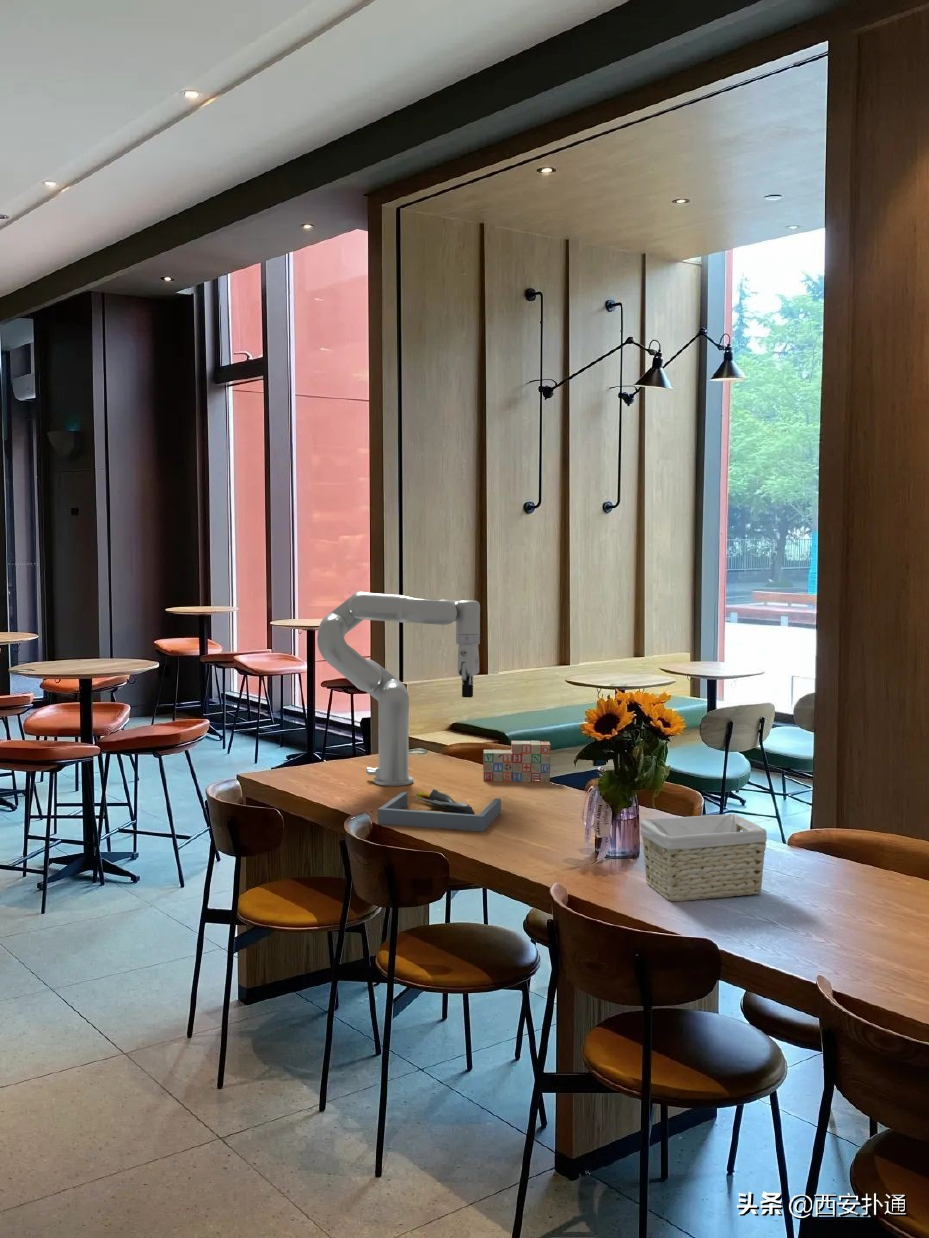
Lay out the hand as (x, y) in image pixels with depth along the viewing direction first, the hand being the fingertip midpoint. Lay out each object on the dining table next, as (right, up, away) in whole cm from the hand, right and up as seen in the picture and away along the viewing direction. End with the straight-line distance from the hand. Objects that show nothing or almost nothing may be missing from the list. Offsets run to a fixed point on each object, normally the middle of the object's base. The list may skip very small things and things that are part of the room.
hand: (467, 696), depth 348 cm
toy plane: (-7, -30, -35) cm, 46 cm away
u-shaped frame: (-8, -30, -45) cm, 55 cm away
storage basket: (+51, -35, -107) cm, 123 cm away
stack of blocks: (+16, -27, +5) cm, 32 cm away
